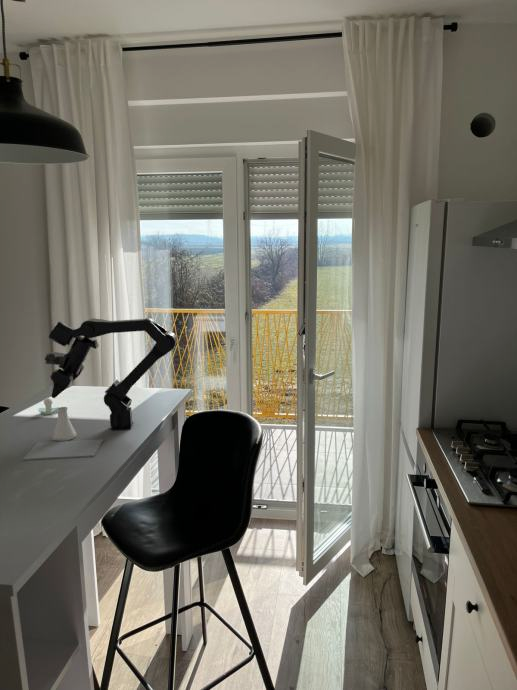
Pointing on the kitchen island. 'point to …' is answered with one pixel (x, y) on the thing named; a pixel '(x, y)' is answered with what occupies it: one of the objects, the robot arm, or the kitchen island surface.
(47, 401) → the pacifier
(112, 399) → the robot arm
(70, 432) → the flask
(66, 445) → the mat
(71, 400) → the kitchen island surface
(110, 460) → the kitchen island surface
